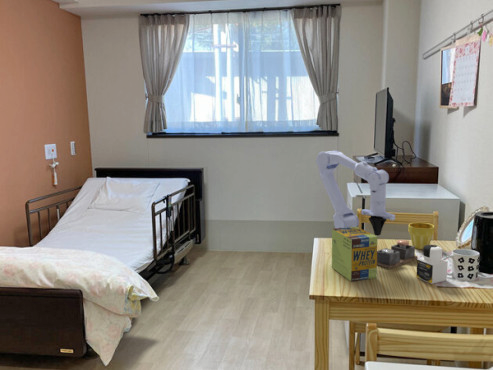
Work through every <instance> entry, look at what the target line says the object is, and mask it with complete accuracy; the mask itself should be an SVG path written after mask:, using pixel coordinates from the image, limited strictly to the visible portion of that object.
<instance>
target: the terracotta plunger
mask: <svg viewBox="0 0 493 370" xmlns="http://www.w3.org/2000/svg"><path fill="white" fill-rule="evenodd" d="M396 244H399V245H400V248H402V249H406V245H410V241H409V240H406V239H398V240H397V243H396Z"/></svg>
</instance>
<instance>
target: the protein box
mask: <svg viewBox="0 0 493 370" xmlns="http://www.w3.org/2000/svg"><path fill="white" fill-rule="evenodd" d="M377 251H378V236H377V235H375V234H373V233H371V232H368V231H366V230H364V229H362V228H360V227H359V226H358V227H347V228H332V229H331V268H332V269H333V270H335V271H336V272H338V274H340V275H341V276H343V277H344V278H346V279H347V280H348V281H349V282H357V281H363V280H370V279H371V280H372V279H377V277H378V276H377V274H378V273H377V272H378V268H377V267H378V265H377Z"/></svg>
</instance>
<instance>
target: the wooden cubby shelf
mask: <svg viewBox="0 0 493 370" xmlns="http://www.w3.org/2000/svg"><path fill="white" fill-rule="evenodd" d="M382 249H388V248H387V247H385V248H381V249H379V250H378V249H377V267H378V266H379V267H381V268H385V269H388V270H391V269H395V268H397V267H399V266H402V265H404V264H408V263H410V262H412V261H415V260H417V259H418V255H415V250H416V248H415V247H414V246H412V244H409V245H406V249H402V248H400V245H399V244H397V243H396V244H393V245H391V247H390V249H391V250H393V251H394V253H393V254H390V255H389V254H385V253H382Z"/></svg>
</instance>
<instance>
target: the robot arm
mask: <svg viewBox="0 0 493 370" xmlns="http://www.w3.org/2000/svg"><path fill="white" fill-rule="evenodd" d="M315 162H316V165H317V167H318V174H319V177H320V180H321V182H322V185H323V187H324V189H325V191H326V194H327V196H328V198H329V201H330V204H331V205H332V207H333V210H334V214H333V216H332V219H333V224H334V225H333V226H334V229H336V228H347V227H358V228H359V225H360V219H359V217H358V216H357V215H356V214H355V212H354V210H353V209H351V208H350V207H348V205H347V203H346V201H345V199H344V197H343V194H342V192H341V189H340V187H339V185H338V183H337V180H336V177H335V175H334V172H335V171H336V170H337V168H338V166H339V165H341V166H343V167H345V168H348V169H349V170H353V171H354V174H355V176H357V177H359V178H361V179H363V180H364V181H366V182H367V183H368V185H369V189H370V199H369V201H370V203H369V204H370V205H369V209H366V208H365V209H361V210H360V211H361V213H360V214H361V215H366V216H370V217H368V221H369V222H370V224H371V226H372V229H373V233H374V234H373V235H375V236H377V237H378V236H381V234H382V231H383V228H384V225H385V224H386V222H387V220H389V221H395V220H396V214H393V213H390V212H387V211H386V206H387V205H386V202H387V200H386V198H387V196H386V195H387V194H386V193H387V192H386V191H387V189H386V188H387V187H386V185H387V183H389V180H390V176H389V173H388V171H386V170H384V169H378V168H377V167H375V166H374V167H373V166H371V165H370V164H368V163H369V162H367V161H361V162H357V161H355V160H354V159H352V158H351V157H348V155H345V154H344V153H343V152H342V151H339V150H336V149H335V150H329V151H319V153H318V154H317V155H316V159H315Z"/></svg>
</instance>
